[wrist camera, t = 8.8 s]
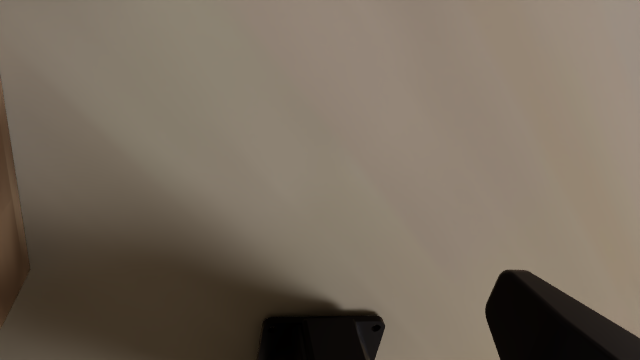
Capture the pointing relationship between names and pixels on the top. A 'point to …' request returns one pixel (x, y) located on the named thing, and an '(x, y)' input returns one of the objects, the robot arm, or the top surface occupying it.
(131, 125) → the top surface
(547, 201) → the top surface
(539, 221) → the top surface
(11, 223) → the well block
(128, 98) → the top surface
